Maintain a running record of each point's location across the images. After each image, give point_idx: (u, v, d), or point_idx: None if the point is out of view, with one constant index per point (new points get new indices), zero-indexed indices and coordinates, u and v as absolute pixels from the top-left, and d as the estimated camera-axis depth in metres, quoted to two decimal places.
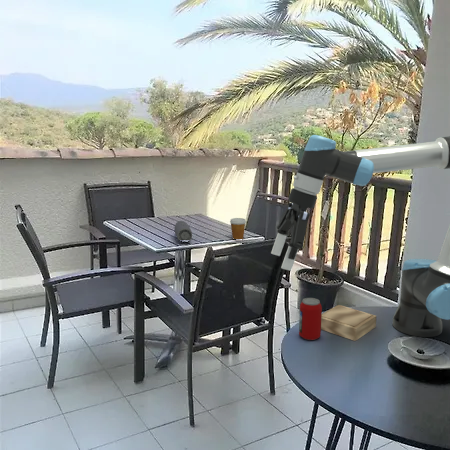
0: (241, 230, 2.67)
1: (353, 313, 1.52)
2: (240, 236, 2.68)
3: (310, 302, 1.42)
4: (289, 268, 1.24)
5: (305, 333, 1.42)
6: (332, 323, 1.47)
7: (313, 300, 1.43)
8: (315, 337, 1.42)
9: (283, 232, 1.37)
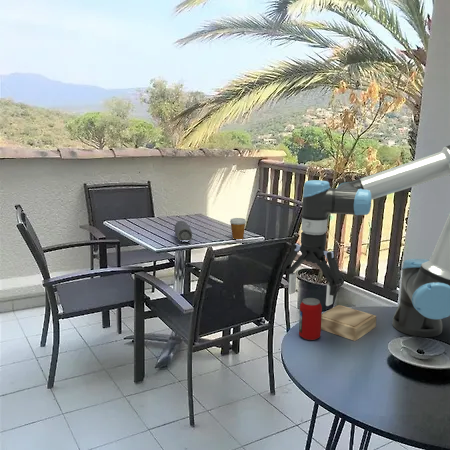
0: (241, 230, 2.67)
1: (353, 313, 1.52)
2: (240, 236, 2.68)
3: (310, 302, 1.42)
4: (331, 302, 1.38)
5: (305, 333, 1.42)
6: (332, 323, 1.47)
7: (313, 300, 1.43)
8: (315, 337, 1.42)
9: (292, 271, 1.46)
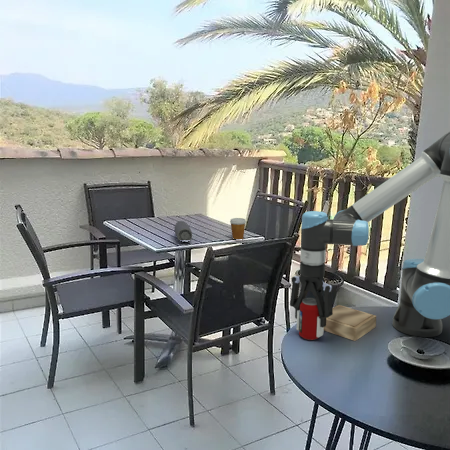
0: (241, 230, 2.67)
1: (353, 313, 1.52)
2: (240, 236, 2.68)
3: (310, 302, 1.42)
4: (322, 333, 1.42)
5: (305, 333, 1.42)
6: (332, 323, 1.47)
7: (313, 300, 1.43)
8: (315, 337, 1.42)
9: None
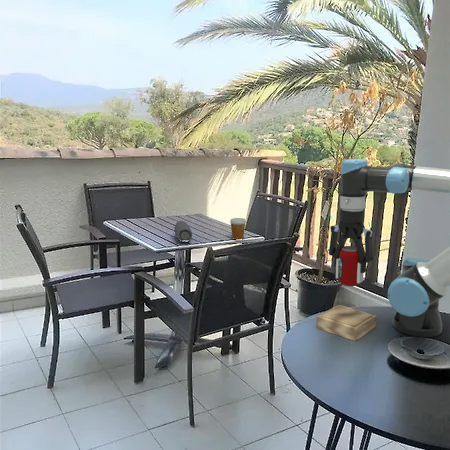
0: (241, 230, 2.67)
1: (353, 313, 1.52)
2: (240, 236, 2.68)
3: (350, 249, 1.45)
4: (362, 280, 1.45)
5: (345, 280, 1.45)
6: (332, 323, 1.47)
7: (352, 248, 1.46)
8: (355, 283, 1.45)
9: None
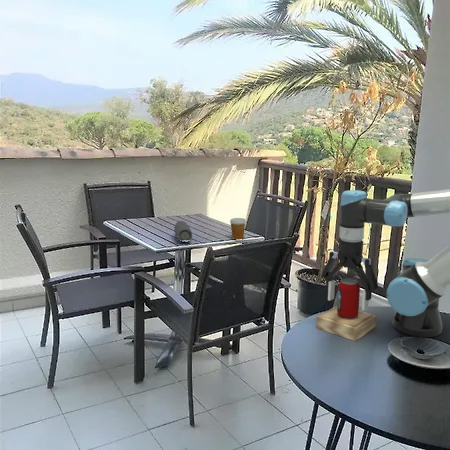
0: (241, 230, 2.67)
1: None
2: (240, 236, 2.68)
3: (349, 282, 1.47)
4: (367, 307, 1.46)
5: (344, 312, 1.47)
6: (332, 323, 1.47)
7: (351, 280, 1.49)
8: (354, 315, 1.47)
9: (331, 278, 1.53)
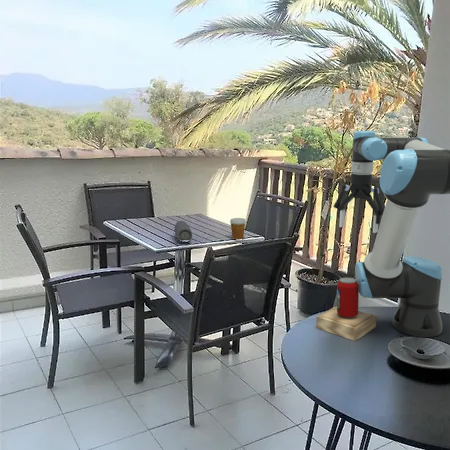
0: (241, 230, 2.67)
1: None
2: (240, 236, 2.68)
3: (347, 281, 1.48)
4: (377, 230, 1.69)
5: (343, 311, 1.47)
6: (332, 323, 1.47)
7: (349, 279, 1.49)
8: (353, 314, 1.47)
9: (342, 208, 1.77)
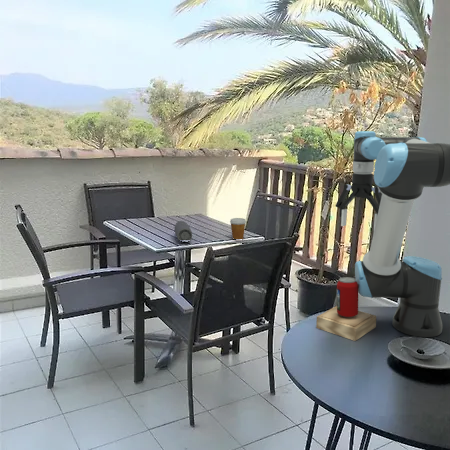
0: (241, 230, 2.67)
1: None
2: (240, 236, 2.68)
3: (347, 280, 1.48)
4: None
5: (343, 311, 1.47)
6: (332, 323, 1.47)
7: (349, 279, 1.49)
8: (353, 314, 1.47)
9: (344, 207, 1.80)
